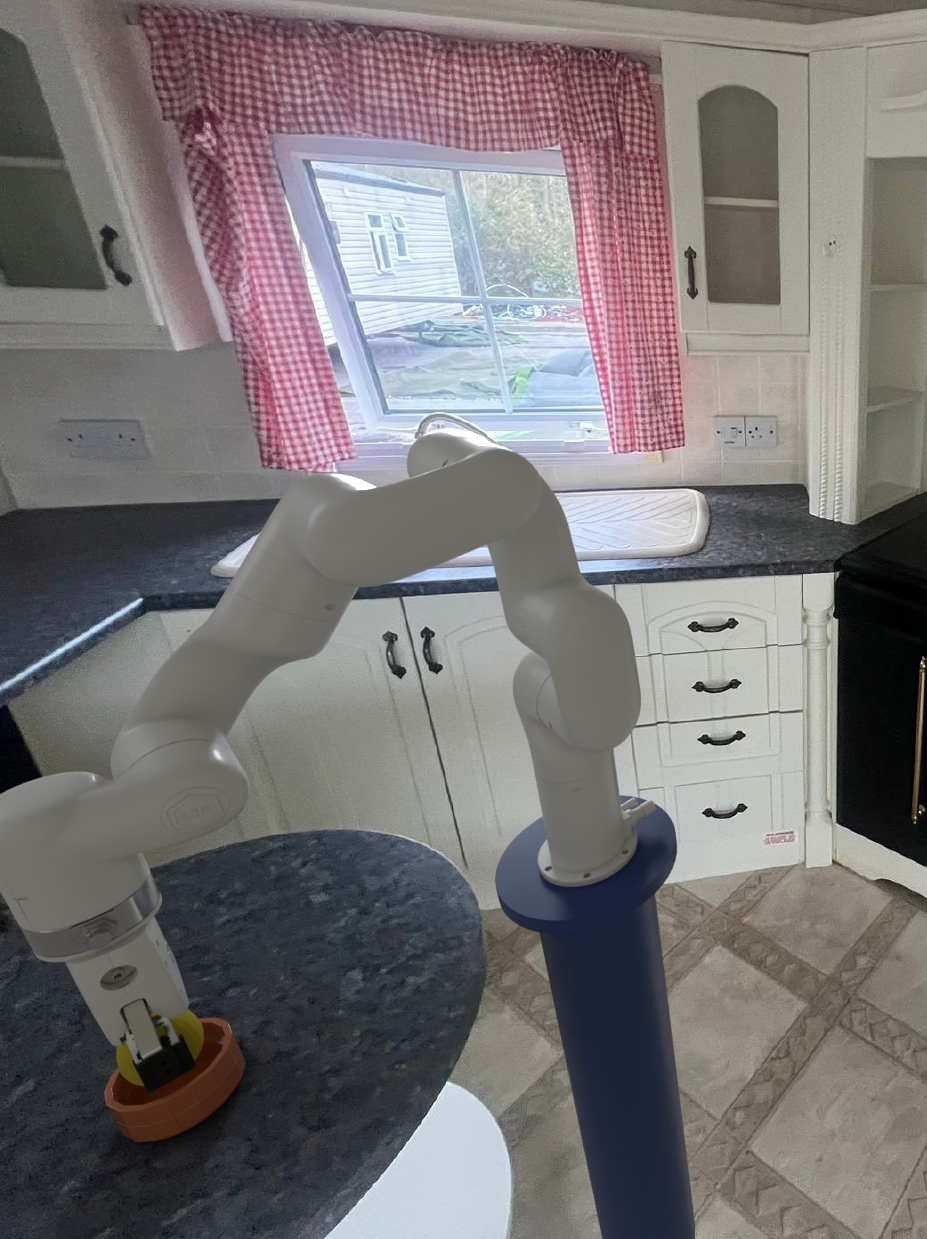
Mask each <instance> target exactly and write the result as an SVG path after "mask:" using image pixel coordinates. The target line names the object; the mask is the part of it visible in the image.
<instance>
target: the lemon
mask: <svg viewBox="0 0 927 1239" xmlns="http://www.w3.org/2000/svg"><path fill="white" fill-rule="evenodd" d="M150 1015H151V1018H152V1017H154V1016H156V1015H157V1014H155V1013H152V1014H150ZM198 1019H199V1017H197V1015H196V1014H195V1013H193V1012H192V1011H191V1010H190V1009H189V1008H188V1009H187V1011H186V1012H185V1013H184V1014H183V1015H180V1016H178V1017H176V1018H175V1019H173V1020H171V1021H172V1024H173V1026H174V1028H175V1031H176V1033H177V1035H180V1034H182V1035H183V1037H184V1039H185V1041H186V1043H187V1045H188V1047H189V1049H190V1051H191V1053H192V1056H193V1058H194V1060H196V1058H197V1057H198V1055H199V1053H200V1051H201V1049H202V1046H203V1042H204V1033H203V1027H202V1024H201V1022H200V1021H199V1020H198ZM129 1029H130V1026H129ZM156 1031H157V1033H158V1035H159V1037H161V1036H163V1035H166V1033H165V1030H164V1028H163V1026H162V1025H160V1026H158V1027H156ZM166 1036H167V1035H166ZM115 1058H116V1063H117V1068H119V1071H120V1073H121V1074H122V1076H123V1077H124V1078H126V1079H127V1080H128V1081H129V1082H130V1083H132V1084H135V1085H139V1086H144V1084H143V1082H142V1080H141V1078H140V1076H139V1075H138V1073H137V1071H136V1069H135V1067H134V1065H133V1062H132V1060H134V1059H133V1057H132V1054H131V1052H130V1050H129V1048H128V1045H127V1043H126V1042H124V1046H116V1052H115Z"/></svg>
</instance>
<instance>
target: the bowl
mask: <svg viewBox="0 0 927 1239" xmlns="http://www.w3.org/2000/svg"><path fill="white" fill-rule="evenodd" d="M198 1020H199V1021H200V1022H201V1024H202V1027H203V1033H204V1042H203V1046H202V1049H201V1051H200V1053H199V1055H198V1057H197V1058H196V1060H195V1063H196V1066H195V1067H194V1068H193V1069H192V1070H190V1071H188V1072H187V1073H185V1074H183V1075H181V1076H180V1077H178V1078H176V1079H174V1080H173V1081H171V1082H169V1083H167V1084H166V1085H164V1086H162V1087H160V1088H159V1089H157V1090H155V1091H153V1092H148V1091H147V1090H146V1088H145V1086H139V1085H135V1084H132V1083H130V1082H129V1081H128V1080H127V1079H126V1078H124V1077H123V1076H122V1074H121V1073H120V1071H119V1068H118V1067H117V1068H116V1069H115V1070H114V1071H113V1072H112V1074H111V1076H110V1078H109V1080H108V1082H107V1085H106V1087H105V1089H104V1092H103V1096H104V1100H105V1105H106V1107H107V1109H108V1110H109V1113H110V1114H111V1116H112V1118H113V1119H114V1121H115V1123H116V1124H117V1126H118V1128H119V1130H120V1132H121V1133H122V1135H123V1136H124V1137H126V1138H128V1139H129V1140H131V1141H133V1142H136V1143H145V1142H146V1143H147V1142H157V1141H162V1140H165V1139H166V1140H167V1139H169V1138H171V1137H175V1136H178V1135H180V1134H182V1133H184V1132H186V1131H188V1130H190V1129H191V1128H193V1127H195V1126H197V1125H198V1124H200V1123H202V1121H204V1120H206V1119H207V1118H208V1117H209V1116H211V1115H212V1114H213V1113H215V1112H216V1111H217V1110H218V1109H219V1108H220V1107H221V1106H222V1105H223V1104H224V1103H225V1102H226V1101H227V1100H228V1099H229V1097H230V1096H231V1095H232V1094H233V1092H234V1090H236V1087H237V1085H238V1084H239V1083H240V1082H241V1080H242V1078H243V1075H244V1071H245V1067H246V1064H247V1062H246V1059H245V1057H244V1054H243V1052H242V1049H241V1046H240V1045H239V1043H238V1040H237V1038H236V1036H235V1034H234V1032H233V1029H232V1027H231V1025H230V1023H229V1022H227V1021H226V1020H223V1019H221V1018H219V1017H203V1018H198Z"/></svg>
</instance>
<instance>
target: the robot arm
mask: <svg viewBox="0 0 927 1239" xmlns="http://www.w3.org/2000/svg"><path fill="white" fill-rule="evenodd" d="M406 468H407V469H406V471H407V475H408V478H406V479H402V480H400V481H396V482H393V483H389V484H385V485H380V486H375V485H373V484H371V483H369V482H366V481H364V480H363V479H360V478H357V477H354V476H350V475H346V474H341V473H331V472H329V473H328V472H327V473H326V472H325V473H316V474H312V475H309V476H306V477H303V478H301V479H300V480H298V481H297V482H295V483H294V484H293V485H291V486H290V488H288V489H287V491H286V492H285V493H284V494H283V495H282V497H281V498H280V499H279V501H278V502H277V503H276V505H275V507H274V509H273V511H272V512H271V513H270V516H269V517H268V519H267V520H266V522H265V524H264V526H263V527H262V529H261V530H260V532H259V534H258V536H257V537H256V539H255V540H254V542H253V544H252V546H251V547H250V549H249V551H248V552H247V554H246V556H245V558H244V559H243V561H242V563H241V564H240V566H239V568H238V570H237V571H236V573H235V574H234V576H233V577H232V579H231V581H230V582H229V584H228V586H227V588H226V589H225V591H224V592H223V594H222V596H221V598H220V599H219V601H218V602H217V604H216V606H215V608H214V609H213V611H212V612H211V613H210V615H209V617H208V618H206V620H205V621H204V622H203V623H202V624H201V625H200V626H199V627H198V628H196V629H195V630H194V631H192V633H191V634H190V635H189V637H187V639H185V641H183V643H182V644H181V645H180V646H179V647H178V648H177V649H176V650H174V651H173V652H172V654H170V655H169V657H168V658H167V659H166V660H165V661H164V662H163V664H162V665H161V666H160V667H159V669H158V670H157V671H156V673H155V674H154V675H153V676H152V678H151V679H150V681H149V683H148V684H147V685H146V687H145V689H144V691H143V692H142V693H141V695H140V696H139V699H138V700H137V703H136V704H135V706H134V707H133V709H132V711H131V712H130V714H129V716H128V718H126V721H125V723H124V724H123V726H122V728H121V730H120V731H119V733H118V735H117V737H116V740H115V742H114V745H113V747H112V751H111V757H110V771H111V776H112V779H107V778H105V777H104V776H102V775H99V774H97V773H94V772H89V771H66V772H60V773H54V774H53V773H52V774H49V775H45V776H42V777H38V778H35V779H32V780H29V781H26V782H23V783H21V784H19V785H16V786H14V787H12V788H9V789H7V790H5V791H4V792H2V793H0V894H1V896H2V897H3V899H4V901H5V902H6V904H7V907H8V908H9V910H10V912H11V914H12V916H13V918H14V919H15V921H16V923H17V925H18V926H19V928H20V930H21V932H22V934H23V935H24V938H25V939H26V941H27V943H28V944H29V946H30V948H31V950H32V953H33V954H34V955H35V957H36V958H37V959H38V960H40V961H43V962H46V963H62V962H63V963H65V966H66V967H67V969H68V972H69V973H70V975H71V977H72V979H73V981H74V983H75V985H76V987H77V988H78V991H79V992H80V995H81V996H82V998H83V1000H84V1001H85V1003H86V1005H87V1007H88V1009H89V1011H90V1012H91V1014H92V1016H93V1018H94V1020H95V1021H96V1022H97V1024H98V1027H99V1028H100V1030H101V1031H102V1033H103V1034H104V1036H105V1037H106V1039H107V1040H108V1042H109V1043H110V1044H111V1045H112V1046H113V1047H117V1046H124V1042H126V1043H127V1045H128V1048H129V1050H130V1052H131V1054H132V1057H133V1059H134V1060H132V1062H133V1065H134V1067H135V1069H136V1071H137V1073H138V1075H139V1076H140V1078H141V1080H142V1082H143V1084H144V1086H145V1088H146V1090H147V1091H148V1092H153V1091H155V1090H157V1089H159V1088H160V1087H162V1086H164V1085H166V1084H167V1083H169V1082H171V1081H173V1080H174V1079H176V1078H178V1077H180V1076H181V1075H183V1074H185V1073H187V1072H188V1071H190V1070H192V1069H193V1068H194V1067H195V1066H196V1063H195V1060H194V1058H193V1056H192V1053H191V1051H190V1049H189V1047H188V1045H187V1043H186V1041H185V1039H184V1037H183V1035H182V1034H180V1035H177V1033H176V1031H175V1028H174V1026H173V1024H172V1021H171V1020H173V1019H175V1018H176V1017H178V1016H180V1015H183V1014H184V1013H185V1012H186V1011H187V1009H188V1010H189V1006H190V1002H189V997H188V995H187V991H186V987H185V984H184V980H183V978H182V974H181V971H180V969H179V966H178V963H177V960H176V957H175V955H174V953H173V951H172V949H171V947H170V946H169V944H168V942H167V940H166V937H165V936H164V934H163V931H162V929H161V927H160V925H159V922H158V921H157V919H156V917H155V916H156V914H158V912H159V910H160V908H161V906H162V903H163V897H162V894H161V892H160V890H159V888H158V886H157V883H156V881H155V879H154V877H153V874H152V872H151V870H150V867H149V865H148V863H147V861H146V858H145V856H144V854H143V853H145V852H146V853H147V852H149V851H154V850H158V849H162V848H165V847H170V846H174V845H178V844H183V843H185V842H188V841H192V840H196V839H198V838H201V837H204V836H206V835H209V834H212V833H214V832H216V831H218V830H220V829H221V828H223V827H225V826H227V825H228V824H230V823H231V822H232V821H234V819H236V818H237V817H238V816H239V815H240V814H241V813H242V811H243V810H244V809H245V807H246V806H247V804H248V802H249V799H250V795H251V784H250V781H249V777H248V775H247V773H246V771H245V770H244V768H243V766H242V765H241V763H240V761H239V760H238V758H237V757H236V754H235V752H234V751H233V750H232V748H231V745H230V744H229V743H228V740H227V738H228V736H229V734H230V732H231V730H232V729H233V726H234V724H235V723H236V721H237V719H238V718H239V716H240V714H241V712H242V711H243V709H244V707H245V706H246V704H247V702H248V701H249V700H250V698H251V696H252V694H253V693H254V692H255V691H256V690H257V688H258V687H259V685H260V684H261V683H262V682H263V681H264V680H265V678H268V676H269V675H270V674H271V673H273V672H275V671H276V670H277V669H279V668H281V667H283V666H285V665H287V664H290V663H293V662H297V661H302V660H307V659H310V658H313V657H316V656H317V655H319V654H320V653H321V652H322V651H323V650H324V649H325V647H327V645H328V643H329V642H330V640H331V638H332V636H333V634H334V633H335V630H336V628H337V627H338V626H339V623H340V621H341V620H342V618H343V616H344V615H345V613H346V611H347V609H348V607H349V605H350V603H351V602H352V600H353V598H354V596H355V595H356V593H357V591H358V590H359V588H371V587H372V588H373V587H378V586H383V585H387V584H390V583H395V582H398V581H402V580H404V579H406V578H410V577H413V576H415V575H418V574H420V573H424V572H426V571H428V570H430V569H433V568H435V567H438V566H440V565H442V564H445V563H447V562H450V561H452V560H454V559H457V558H459V557H462V556H464V555H466V554H468V553H471V552H473V551H476V550H478V549H480V548H483V547H485V546H486V547H487V549H488V552H489V555H490V558H491V562H492V566H493V569H494V574H495V578H496V582H497V587H498V591H499V596H500V600H501V605H502V609H503V614H504V619H505V622H506V625H507V628H508V630H509V631H510V633H511V635H513V637H515V638H516V639H517V641H519V642H520V643H521V644H523V645H524V646H525V647H527V648H528V649H529V650H531V651H529V652H527V654H526V655H525V656H523V657H522V659H521V660H520V662H519V663H518V665H517V666H516V669H515V672H514V675H513V679H512V680H513V681H512V695H513V700H514V704H515V707H516V711H517V714H518V716H519V719H520V722H521V725H522V727H523V730H524V733H525V736H526V739H527V743H528V748H529V751H530V756H531V761H532V767H533V771H534V777H535V783H536V788H537V794H538V799H539V804H540V810H541V815H542V817H543V820H544V826H545V831H546V836H547V839H546V841H545V842H544V843H543V845H542V846H541V848H540V851H539V853H538V860H537V861H538V867H539V870H540V873H541V875H542V876H543V877H544V879H546V880H547V881H549V882H550V883H553V884H555V885H558V886H564V887H579V886H586V885H590V884H593V883H597V882H599V881H602V880H604V879H606V878H608V877H610V876H612V875H613V874H615V873H616V872H618V871H619V870H620V869H622V868H623V867H624V866H625V865H626V864H627V863H628V862H629V861H630V859H631V858H632V857H633V855H634V853H635V851H636V848H637V844H638V839H637V832H636V829H635V827H634V826H635V825H637V821H638V820H640V819H642V818H645V817H647V816H648V815H650V814H652V813H653V812H655V811H656V806H655V804H656V803H655V802H654V801H653V800H652V799H651V798H650V799H647V800H648V801H646V802H644V803H642V804H641V805H639V806H638V802H637V800H636V799H635V798H634V797H635V796H633V798H632V799H630V800H628V801H626V802H625V803H624V804H622V805H621V802H620V787H619V779H618V773H617V772H618V771H617V766H616V758H615V750H614V749H615V748H617V747H619V746H620V745H622V743H624V742H625V741H626V740H627V739H628V738H629V736H630V735H631V734H632V733H633V731H634V730H635V728H636V726H637V723H638V721H639V717H640V714H641V708H642V692H641V685H640V684H641V682H640V678H639V672H638V671H639V670H638V665H637V658H636V652H635V646H634V640H633V634H632V630H631V629H632V628H631V626H630V621H629V619H628V617H627V615H626V613H625V611H624V610H623V608H622V607H621V605H620V604H619V603H618V602H617V600H615V599H614V597H612V596H611V595H609V594H608V593H606V592H605V591H603V590H601V589H599V588H598V587H597V586H595V585H592V584H591V583H589V581H587V580H586V578H585V577H584V576H583V574H582V572H581V569H580V566H579V562H578V557H577V553H576V550H575V545H574V541H573V537H572V533H571V529H570V526H569V522H568V519H567V517H566V514H565V511H564V509H563V506H562V504H561V503H560V501H559V499H558V497H557V496H556V494H555V493H554V491H553V489H552V488H551V486H550V485H549V484H548V482H546V480H545V479H544V478H543V477H542V476H541V475H540V473H539V471H538V470H537V469H536V467H535V466H534V465H533V463H532V462H530V461H529V460H528V459H527V457H525V456H523V455H521V454H519V453H518V452H516V451H515V450H512V449H510V448H508V447H506V446H505V445H503V444H501V443H499V442H497V441H494V440H493V439H490V438H488V437H485V436H482V435H480V434H477V433H474V432H471V431H467V430H462V429H456V428H440V429H435V430H430V431H428V432H426V433H423V434H422V435H421V436H419V437H418V438H417V439H416V440H414V442H413V443H412V445H411V446H410V448H409V450H408V453H407V458H406ZM636 806H638V807H637V808H635V807H636ZM633 808H635V809H633ZM631 809H633V810H631ZM152 1013H155V1014H157V1015H156V1016H154V1017H152V1018H151V1015H150V1014H152ZM160 1025H162V1026H163V1028H164V1030H165V1033H166V1035H167V1036H166V1035H163V1036H161V1037H159V1035H158V1033H157V1031H156V1027H158V1026H160ZM129 1026H130V1029H129Z"/></svg>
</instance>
